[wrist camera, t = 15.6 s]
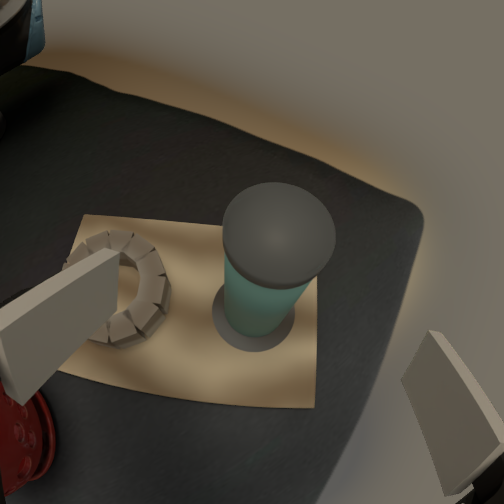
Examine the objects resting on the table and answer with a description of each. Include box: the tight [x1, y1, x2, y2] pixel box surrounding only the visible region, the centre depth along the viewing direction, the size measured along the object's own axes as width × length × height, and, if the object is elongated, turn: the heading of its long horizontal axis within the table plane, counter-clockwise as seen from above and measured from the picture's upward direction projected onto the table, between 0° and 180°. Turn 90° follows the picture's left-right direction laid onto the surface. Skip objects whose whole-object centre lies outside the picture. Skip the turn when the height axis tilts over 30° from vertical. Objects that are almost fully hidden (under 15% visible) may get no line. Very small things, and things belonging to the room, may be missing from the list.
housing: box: [57, 214, 317, 408], centre depth 24 cm, size 16×24×4 cm, turn 86°
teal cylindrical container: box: [222, 182, 336, 337], centre depth 19 cm, size 5×5×13 cm
